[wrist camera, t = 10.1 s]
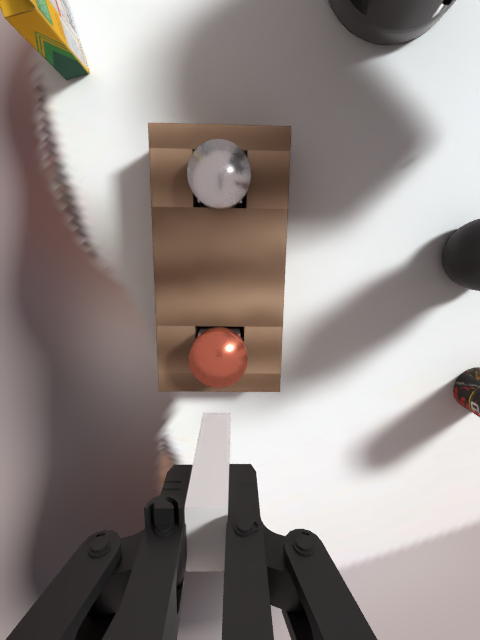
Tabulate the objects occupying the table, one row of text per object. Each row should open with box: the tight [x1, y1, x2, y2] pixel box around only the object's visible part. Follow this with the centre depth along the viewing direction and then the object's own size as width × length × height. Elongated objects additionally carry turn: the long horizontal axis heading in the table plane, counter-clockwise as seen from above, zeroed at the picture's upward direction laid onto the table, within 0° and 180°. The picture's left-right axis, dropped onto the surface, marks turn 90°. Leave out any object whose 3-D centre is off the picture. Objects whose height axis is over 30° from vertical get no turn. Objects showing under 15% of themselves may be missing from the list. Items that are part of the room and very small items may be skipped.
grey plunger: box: [187, 139, 251, 210], centre depth 34 cm, size 6×6×8 cm
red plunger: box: [189, 326, 248, 388], centre depth 36 cm, size 6×6×8 cm
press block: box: [148, 123, 291, 392], centre depth 37 cm, size 28×14×6 cm, turn 179°
